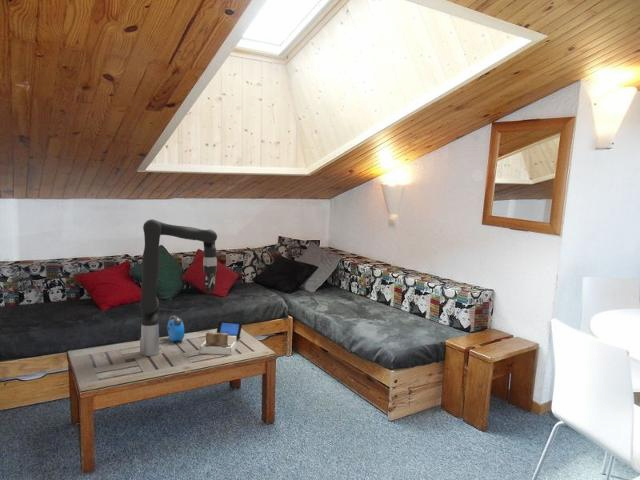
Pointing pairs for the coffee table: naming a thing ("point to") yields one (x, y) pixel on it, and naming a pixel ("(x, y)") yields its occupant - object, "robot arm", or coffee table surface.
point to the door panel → (217, 339)
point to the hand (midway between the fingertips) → (210, 292)
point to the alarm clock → (175, 329)
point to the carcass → (220, 350)
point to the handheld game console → (230, 328)
